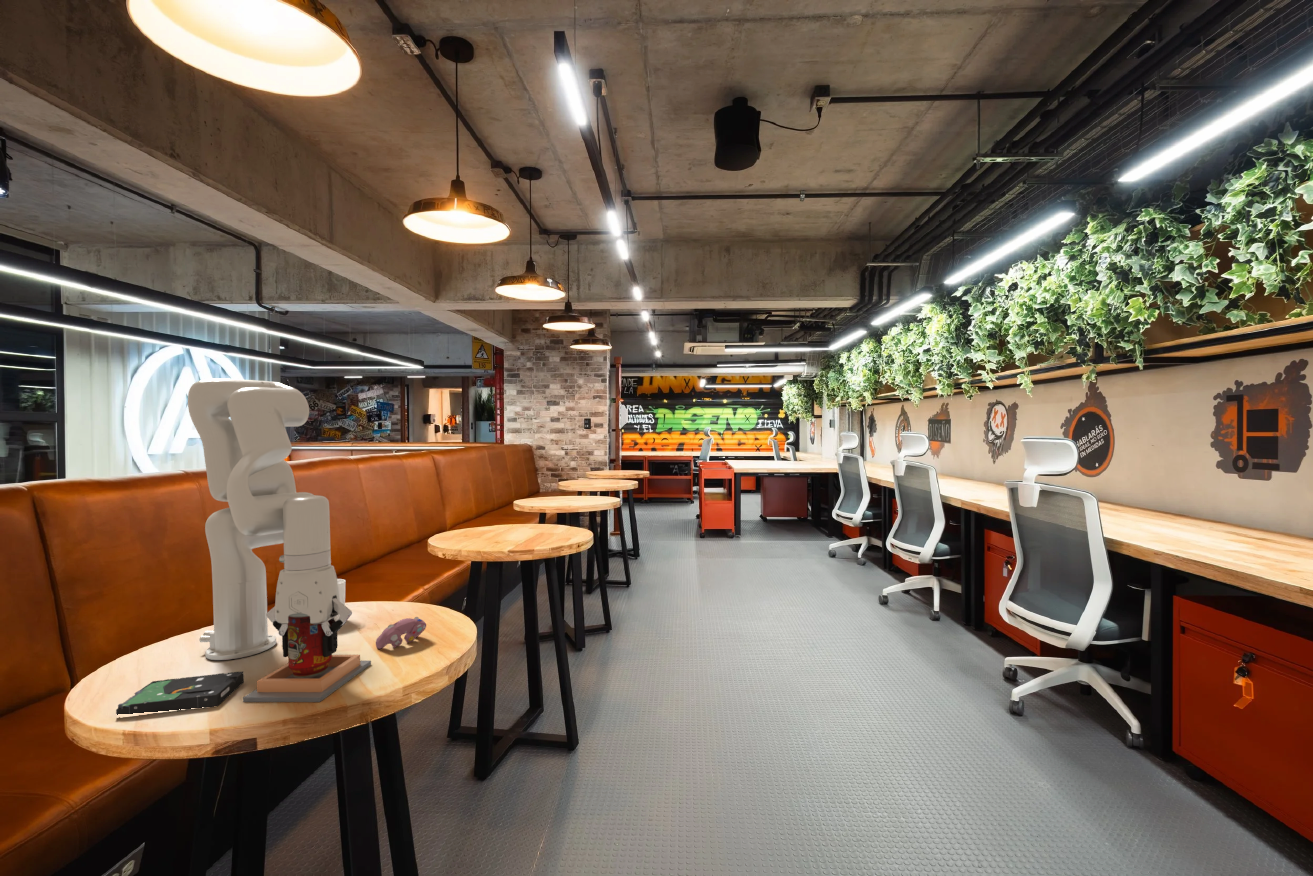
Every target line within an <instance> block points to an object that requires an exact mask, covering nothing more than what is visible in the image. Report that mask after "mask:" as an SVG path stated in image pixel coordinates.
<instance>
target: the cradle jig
mask: <svg viewBox="0 0 1313 876" xmlns="http://www.w3.org/2000/svg"><path fill="white" fill-rule="evenodd" d="M371 665H372V661H371V660H361V654H332V659H331V661H330V663H329V664H328V669H327V670H326V671H324V672H322V673H320V674H317V675H314V676H309V677H295V676H294V675H293V672H292V671H291V669H290V668H289V665H288V663H285V664H284V665H282V666H280V667H279V668H277V669H276V670H273V671H272V672H270V673H268V674H267V675H265V676H263V677H261V678H260V679H258V680H257V681H256V689H254V690H253V691H251V692H249V693H248V694H246V695H245V696H243V697H242V703H320V702H322V701H323V700H325V699H326V698H328V697H329V696H330V695H331V694H333V693H334V692H335V691H336V690H338V689H340V688H341V687H342V686H344V685H345V684H346V683H348V682H349V681H351V680H352V679H353V678H355V677H356V676H357V675H358V674H360V673H361V672H362V671H364V670H365V669H367V668H368V667H370V666H371Z"/></svg>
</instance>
